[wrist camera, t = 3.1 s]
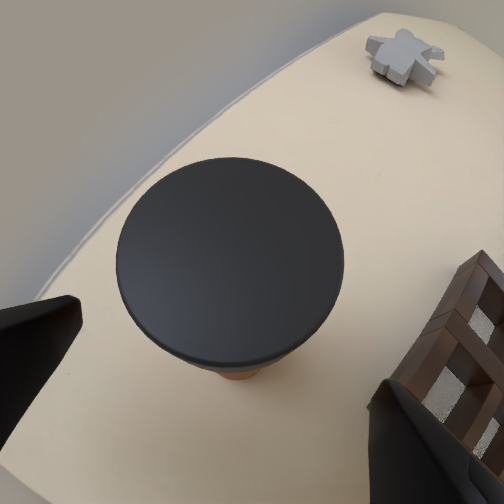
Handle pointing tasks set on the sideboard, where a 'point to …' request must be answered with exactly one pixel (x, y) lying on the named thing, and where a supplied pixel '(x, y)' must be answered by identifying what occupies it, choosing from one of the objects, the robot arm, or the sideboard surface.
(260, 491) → the sideboard surface
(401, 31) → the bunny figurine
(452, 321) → the rack
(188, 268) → the vial
